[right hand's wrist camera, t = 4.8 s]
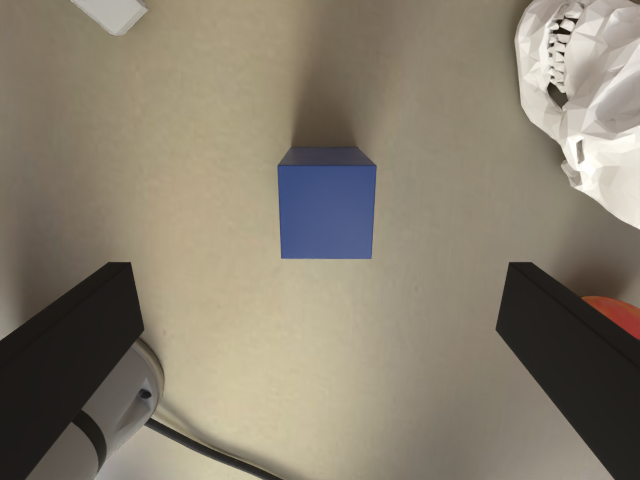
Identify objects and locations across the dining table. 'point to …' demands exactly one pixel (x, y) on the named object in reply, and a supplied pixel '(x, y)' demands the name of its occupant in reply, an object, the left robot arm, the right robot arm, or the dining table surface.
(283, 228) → the block
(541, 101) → the skull
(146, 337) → the dining table surface
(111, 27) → the grey jointed segment piece
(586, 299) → the apple
